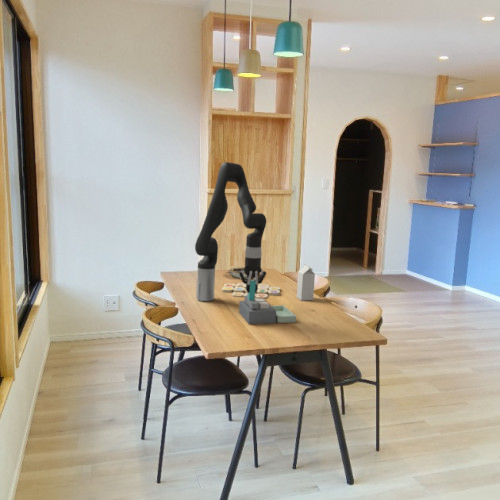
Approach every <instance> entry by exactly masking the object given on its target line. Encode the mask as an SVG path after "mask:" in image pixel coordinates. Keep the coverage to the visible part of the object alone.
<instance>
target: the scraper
mask: <svg viewBox="0 0 500 500" xmlns="http://www.w3.org/2000/svg"><path fill="white" fill-rule="evenodd" d="M255 283H256V282H255V281H254V279H251V280H250V284H249V285H250V292H249V293H248V296H244V297H243V301H245V302H246V303H247V304H248V305H249V306H250V307H251V308H252V309H258V303H257V302H256V301H255V299H256V298H255Z"/></svg>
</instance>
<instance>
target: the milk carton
mask: <svg viewBox="0 0 500 500" xmlns="http://www.w3.org/2000/svg"><path fill="white" fill-rule="evenodd" d="M315 277H316V273H315V272H313V268H312V267H310V266H309V265H307V264H306V263H305V264H304V266H303V267H301V268H300V269H299V270H298V273H297V284H296V285H297V286H296V298H297V299H298V300H300V301H314V294H315V293H314V292H315Z"/></svg>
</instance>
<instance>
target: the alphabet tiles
mask: <svg viewBox="0 0 500 500" xmlns="http://www.w3.org/2000/svg"><path fill="white" fill-rule="evenodd" d="M221 292H222V293H229V294H230V293H231V296H232V297H234V298H242V297H243V298H244V296H248V292H247V291H246V284H244V283H243V282H237V283H224V285H223V287H222V288H221ZM280 293H281V287H279V286H270V284H268V283H267V284H266V283H265V284H264V283H259V284H258V289H257V291H256V292H255V299H264V300H266V299H268V297H269V296H273V297H277V296H280V295H281V294H280Z"/></svg>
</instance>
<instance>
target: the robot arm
mask: <svg viewBox="0 0 500 500" xmlns="http://www.w3.org/2000/svg"><path fill="white" fill-rule="evenodd" d="M247 181H248V180H247V178H246V174H245V171H244V168H243V166H242V165H241V164H239V163H234V162H227V161H225V162H222V163H221V165H220V167H219V169H218V173H217V177H216V183H215V186H214V187H215V188H214V191H213V194H212V197H211V201H210V203H209V207H208V209H207V211H206V212H207V213H206V216H205V219H204V222H203V224H202V228H201V230H200V232H199V234H198V236H197V238H196V242H195V245H194V249H195V253H196V254H197V255H198V256H199V257H201V256H203V258H202V259H201V260H199V261H198V263H197V278H196V279H197V280H196V287H195V288H196V290H195V291H196V293H195V294H196V295H195V299H196V300H197V301H198V302H200V301H201V302H211V301H214V300H215V283H216V281H215V280H216V265H217V261H218V253H219V245H218V241H217V240H216V238H214V237H212V236H213V234H214V232H216V231H217V229H218V228H219V226H220V225H222V223H223V222H224V220H225V218H226V214H227V212H228V206H229V204H228V203H229V202H228V200H227V196H226V187H227V185H228V182H230V183H235V184H236V185H237V188H238V192H237V195H236V197H237V199H236V200H237V204H238V206H239V208H240V210H241V213H242V220H243V226H245V228H246V229H249V230H250V229H252V230H253V229H254V230H253V232H251V233H248V234H247V235H246V241H245V242H246V243H245V245H246V247H245V252H244V254H245V255H244V270H242V271H239V272H238V273H239V275H240V278H241V279H240V280H241V281H242V282H241V283H244V284H246V291H247V292H248V293H249V292H250V285H249V284H250V280H252V279H253V280H254V281H255V282H256V283H255V292H256V291H257V289H258V284H263V281H264V279H265V277H266V276H267V271H265V270H262V266H261V265H262V255H263V253H262V239H263V235H264V232H265V229H266V226H267V218H266V215H265V214H263V213H261V212H260V213H259V212H258V213H257V212H256V210H257V205H256V202H255V201H254V199H253V197H252V194H251V193H250V189H249V186H248V182H247ZM255 212H256V213H255ZM244 272H245V274H246V275H247V277H246V279H244V276H243V275H244ZM258 275H260V276H258ZM252 277H254V278H252ZM251 278H252V279H251Z"/></svg>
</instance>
